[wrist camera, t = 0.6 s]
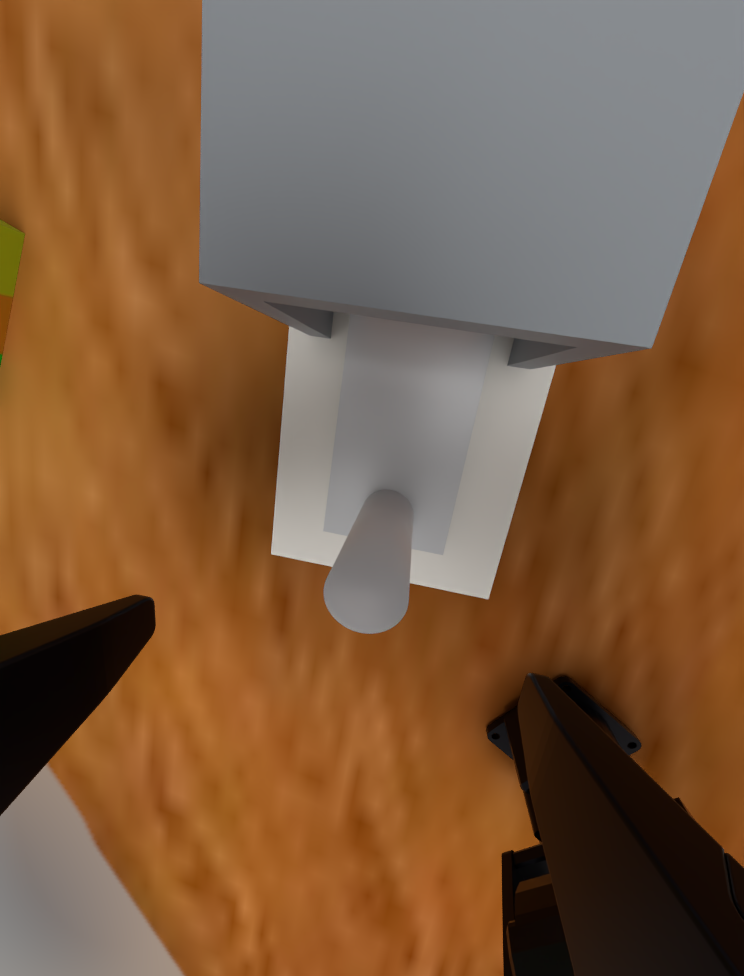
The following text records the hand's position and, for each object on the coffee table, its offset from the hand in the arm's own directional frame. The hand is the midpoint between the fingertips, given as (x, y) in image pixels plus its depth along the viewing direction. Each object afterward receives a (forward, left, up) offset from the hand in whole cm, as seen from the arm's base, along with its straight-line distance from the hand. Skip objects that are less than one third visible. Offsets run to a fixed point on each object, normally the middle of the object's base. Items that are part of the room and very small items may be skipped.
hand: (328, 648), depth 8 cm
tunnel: (+5, -10, -10) cm, 15 cm away
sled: (+3, -6, -10) cm, 12 cm away
